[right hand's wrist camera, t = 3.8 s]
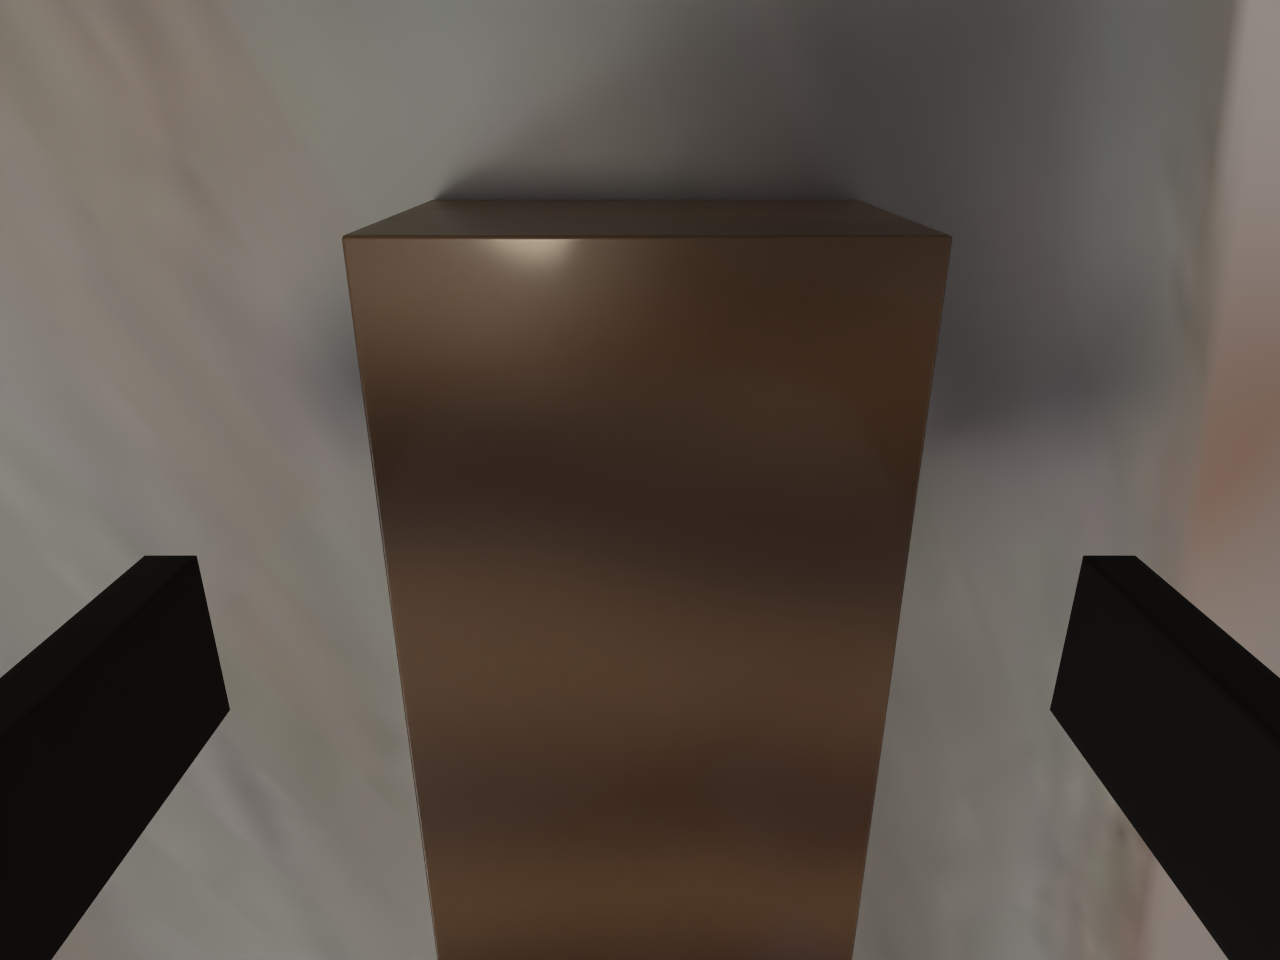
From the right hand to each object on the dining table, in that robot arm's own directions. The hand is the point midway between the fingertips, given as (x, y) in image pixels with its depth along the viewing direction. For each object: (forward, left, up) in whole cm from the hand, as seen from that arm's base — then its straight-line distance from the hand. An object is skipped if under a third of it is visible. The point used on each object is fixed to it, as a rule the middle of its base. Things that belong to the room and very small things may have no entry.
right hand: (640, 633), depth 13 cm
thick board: (+13, +15, -10) cm, 23 cm away
